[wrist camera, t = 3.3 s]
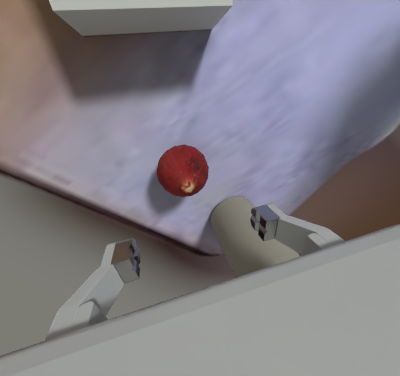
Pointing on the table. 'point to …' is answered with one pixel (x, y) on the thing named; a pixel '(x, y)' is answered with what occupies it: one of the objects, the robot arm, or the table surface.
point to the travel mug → (245, 239)
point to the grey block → (139, 15)
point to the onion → (182, 170)
